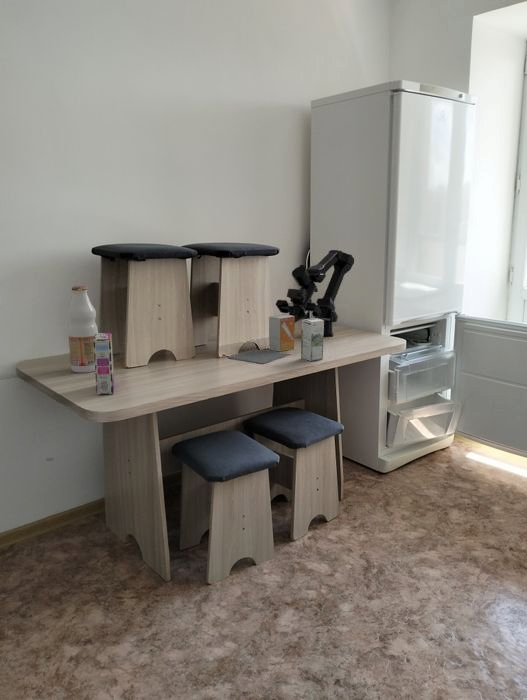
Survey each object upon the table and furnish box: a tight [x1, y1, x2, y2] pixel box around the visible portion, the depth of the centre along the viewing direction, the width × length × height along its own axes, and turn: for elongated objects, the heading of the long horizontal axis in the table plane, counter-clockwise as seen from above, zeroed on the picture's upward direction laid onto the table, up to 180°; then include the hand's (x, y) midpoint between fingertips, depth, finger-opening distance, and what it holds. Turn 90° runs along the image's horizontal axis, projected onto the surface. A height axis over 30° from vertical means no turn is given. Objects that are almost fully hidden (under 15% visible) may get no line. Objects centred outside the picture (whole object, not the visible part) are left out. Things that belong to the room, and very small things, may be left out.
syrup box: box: [300, 317, 324, 362], centre depth 203 cm, size 6×6×14 cm
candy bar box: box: [93, 332, 115, 396], centre depth 168 cm, size 11×5×16 cm, turn 13°
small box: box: [268, 313, 296, 353], centre depth 219 cm, size 8×6×13 cm
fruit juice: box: [66, 285, 99, 374], centre depth 189 cm, size 9×9×28 cm
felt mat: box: [227, 348, 291, 365], centre depth 209 cm, size 17×16×1 cm
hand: (289, 324), depth 223 cm, fingers closed
